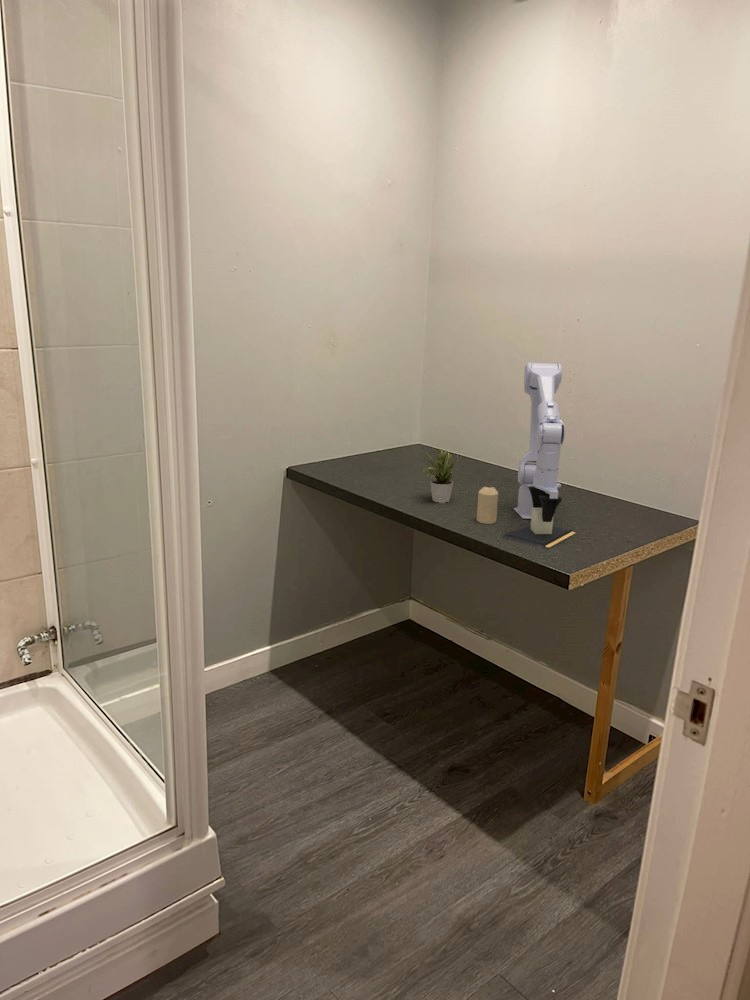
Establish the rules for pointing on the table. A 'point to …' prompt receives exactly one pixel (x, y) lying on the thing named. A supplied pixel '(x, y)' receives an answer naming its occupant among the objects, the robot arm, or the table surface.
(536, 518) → the block
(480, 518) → the candle
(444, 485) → the house plant
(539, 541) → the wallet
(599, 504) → the table surface
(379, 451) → the table surface
